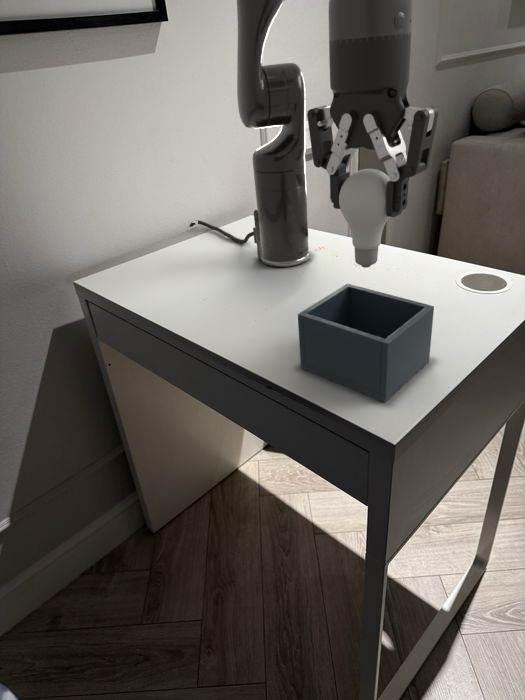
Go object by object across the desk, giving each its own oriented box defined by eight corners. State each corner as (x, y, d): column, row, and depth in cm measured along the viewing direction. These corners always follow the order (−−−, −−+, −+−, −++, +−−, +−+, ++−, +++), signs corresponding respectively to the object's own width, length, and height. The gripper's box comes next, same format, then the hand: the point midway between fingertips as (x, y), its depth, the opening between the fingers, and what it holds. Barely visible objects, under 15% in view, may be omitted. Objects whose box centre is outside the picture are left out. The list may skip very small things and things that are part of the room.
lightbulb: (393, 277, 57) (398, 175, 51) (337, 277, 58) (336, 177, 53) (392, 256, 62) (397, 161, 56) (341, 256, 63) (340, 163, 58)
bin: (300, 368, 68) (297, 314, 64) (347, 334, 74) (347, 283, 70) (385, 402, 60) (387, 343, 56) (429, 361, 66) (434, 306, 62)
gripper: (462, 23, 46) (444, 210, 55) (330, 35, 55) (333, 194, 63) (421, 28, 41) (409, 231, 50) (284, 40, 50) (294, 211, 59)
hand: (366, 210), depth 57 cm, fingers closed on lightbulb, 6 cm apart
